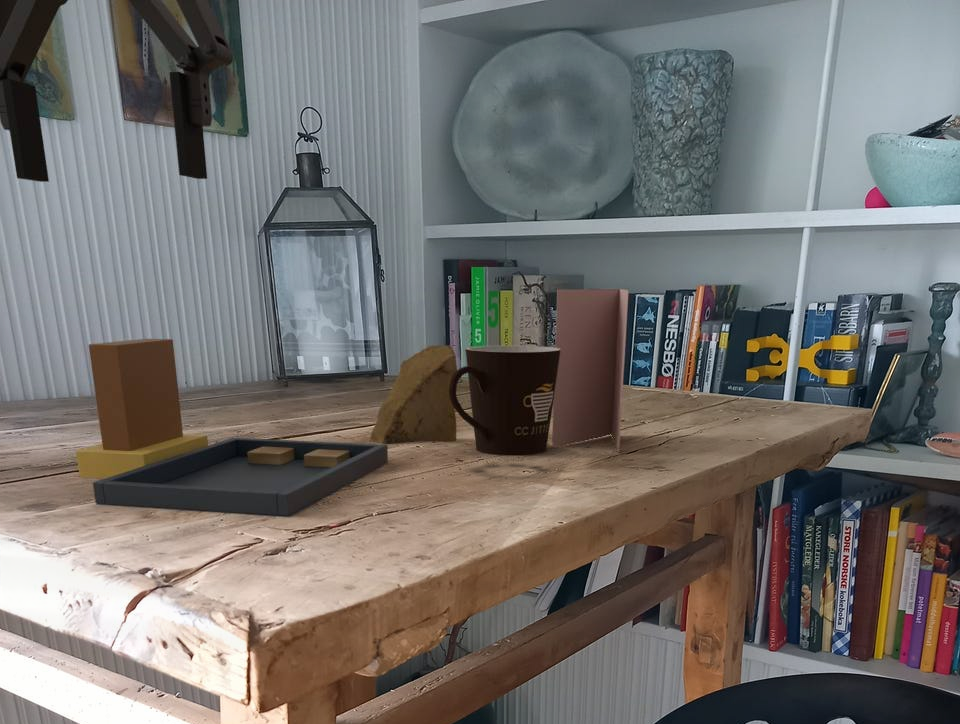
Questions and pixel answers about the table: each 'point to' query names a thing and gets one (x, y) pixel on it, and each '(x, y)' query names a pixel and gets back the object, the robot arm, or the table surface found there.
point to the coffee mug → (509, 397)
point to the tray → (239, 479)
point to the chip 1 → (270, 455)
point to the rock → (420, 400)
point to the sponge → (135, 408)
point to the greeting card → (589, 364)
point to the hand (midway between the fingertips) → (111, 179)
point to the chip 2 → (325, 458)
